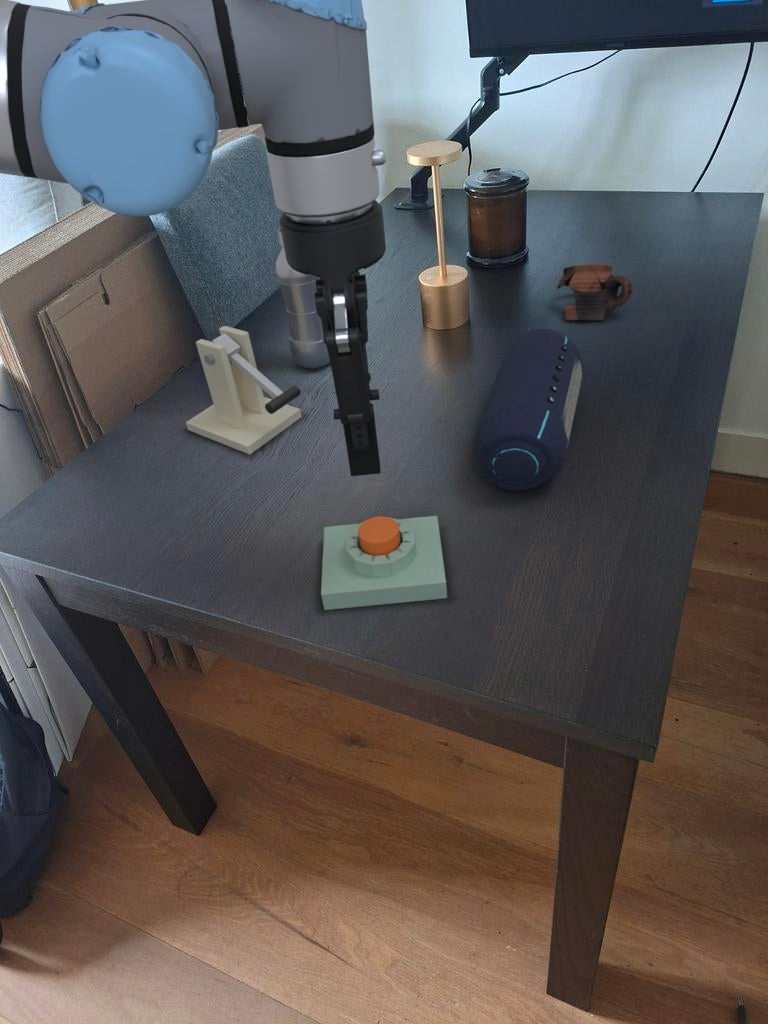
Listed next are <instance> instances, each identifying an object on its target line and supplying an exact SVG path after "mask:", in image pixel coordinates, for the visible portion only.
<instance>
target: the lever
mask: <svg viewBox="0 0 768 1024" xmlns="http://www.w3.org/2000/svg"><path fill="white" fill-rule="evenodd" d="M211 342H213V343H217V344H220V345H223V346H225V348H226V352H227V355H228V359H229V363H230V364H234V365H235V366H236V367H237V368H238V369H239V370H241V371H242V372H243V373H244V374H245V375H246V376H248V377H249V378H250V379H251V380H252V381H253V382H255V383H256V384H257V385H258V386H259V387H260V388H261V389H262V391H264V393H266V394H267V395H268V396H269V397H271V399H272V400H271V401H270V402H268V403H267V404H266V405H265V409H266V411H267V412H268V413H270V414H273V413H275V412H276V411H278V410H279V409H281V408H282V407H283V406H285V405H286V404H287V405H289V403H290V402H292V401H294V400H295V399H296V398H298V397H299V396H301V389H300V388H299V387H298V385H293V384H292V385H291V386H290V387H289V388H287V389H286V390H284V391H283V390H282V389H281V388H279V387H278V386H277V385H275V383H274V382H272V381H271V380H269V378H267V377H266V376H265V375H264V374H263V373H262V372H261V371H260V370H258V368H257V369H256V368H254V367H253V366H252V365H251V364H250V363H249V362H247V361H246V360H245V359H244V358H243V357H242V356H240V355H239V352H240V346H239V345H238V344H237V343H236V342H235V341H234V340H232V339H231V338H230V337H229V336H228V335H226V334H225V333H224V334H222V335H221V334H220V335H219V336H217V337H216V338H214V339H212V340H211Z"/></svg>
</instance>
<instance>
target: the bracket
mask: <svg viewBox="0 0 768 1024" xmlns="http://www.w3.org/2000/svg"><path fill="white" fill-rule="evenodd" d="M218 330H219V334H220V336H221V335H222V334H224V333H225V334H226V335H228V336H229V337H230V338H231V339H232V340H234V341H235V342H236V343H237V344H238V345H239V346H240V352H239V355H240V356H242V357H243V358H244V359H245V360H246V361H247V362H249V363H250V364H251V365H252V366H253V367H254V368H256V369H257V370H258V367H257V363H256V359H255V354H254V350H253V347H252V343H251V342H252V341H251V338H250V333H249V332H248V331H246V330H242V329H238V328H235V327H231V326H227V325H223V326H221V327H219V328H218ZM195 345H196V349H197V352H198V355H199V360H200V362H201V365H202V368H203V373H204V376H205V379H206V383H207V386H208V388H209V389H208V390H209V393H210V397H211V400H212V404H211V405H210V406H209V407H207V408H205V409H204V410H202V411H201V412H199V413H197V414H196V415H194V416H193V417H192V418H190V419H188V420H187V421H186V422H185V425H186V428H187V430H188V431H189V432H192V433H194V434H197V435H199V436H202V437H204V438H207V439H210V440H212V441H215V442H217V443H219V444H222V445H224V446H227V447H229V448H232V449H234V450H237V451H239V452H242V453H245V454H246V455H252V454H253V453H254V452H255V451H257V450H259V449H260V448H261V447H263V446H265V444H267V443H268V442H270V441H271V440H272V439H273V438H275V437H277V436H278V435H279V434H281V433H282V432H284V431H285V430H286V429H287V428H289V427H290V426H292V425H293V424H294V423H296V422H297V421H299V420H300V419H301V418H302V417H303V416H302V411H301V408H298V407H296V406H293V405H290V404H286V405H285V406H283V407H282V408H281V409H279V410H278V411H276V412H275V413H273V414H270V413H268V412H267V411H266V409H265V405H266V404H267V403H268V402H270V401H271V400H273V398H270V397H266V396H264V392H263V389H261V388H260V387H259V386H258V385H257V384H256V383H255V382H253V381H252V380H251V379H250V378H249V377H248V376H246V375H245V374H244V373H243V372H242V371H241V370H239V369H238V368H237V367H236V366H235V365H234V364H230V363H229V359H228V355H227V352H226V348H225V346H223V345H220V344H217V343H213V342H212V341H210V340H208V339H207V340H206V339H203V338H201V339H199V340H196V341H195Z"/></svg>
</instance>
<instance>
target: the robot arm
mask: <svg viewBox="0 0 768 1024" xmlns="http://www.w3.org/2000/svg"><path fill="white" fill-rule="evenodd" d="M363 7H364V6H363V1H362V0H134V1H126V2H118V3H116V2H115V3H108V4H105V3H103V2H98V3H92V4H90V5H88V6H83V7H81V8H79V9H74V10H63V9H59V8H53V7H49V6H40V5H39V6H38V5H32V4H27V3H21V2H20V1H15V0H0V174H2V175H3V174H4V175H10V176H18V177H24V178H32V179H39V180H45V181H50V182H55V183H61V184H62V183H63V184H68V185H70V187H71V188H72V189H74V191H76V192H77V193H78V194H80V195H81V196H83V197H84V198H85V199H86V200H88V202H91V203H93V204H94V205H97V206H99V207H100V208H103V209H104V210H107V211H110V212H112V213H115V214H119V215H123V216H129V217H149V216H156V215H160V214H163V213H166V212H168V211H170V210H172V209H174V208H176V207H178V206H180V205H181V204H182V203H184V202H185V201H186V200H187V199H188V198H190V197H191V196H192V195H193V194H194V192H196V190H197V189H198V188H199V186H200V185H201V183H202V182H203V180H204V178H205V176H206V173H207V171H208V169H209V166H210V165H211V162H212V159H213V158H212V157H213V153H214V149H215V147H216V146H217V145H218V140H219V139H218V138H219V131H225V130H230V129H237V128H238V129H242V128H248V127H250V126H253V125H254V126H255V125H261V126H262V130H263V134H264V142H265V152H266V159H267V164H268V169H269V176H270V181H271V187H272V192H273V198H274V203H275V204H274V205H275V207H276V208H277V209H278V210H279V211H280V212H282V214H281V216H280V218H279V226H280V227H279V228H281V233H282V238H283V244H284V249H285V255H286V260H287V263H288V264H289V266H290V267H291V268H292V269H294V270H295V271H297V272H299V273H302V274H306V275H309V274H310V275H314V276H317V277H319V278H320V279H316V289H317V292H315V294H314V295H315V304H316V311H317V314H318V316H319V317H320V318H321V321H322V328H323V334H324V336H323V337H324V343H325V344H326V347H327V350H328V354H329V358H330V362H329V364H330V368H331V374H332V378H333V384H334V389H335V390H334V391H335V395H336V400H337V401H336V402H337V406H338V408H333V420H335V421H337V420H340V423H341V424H342V426H343V427H342V428H343V432H344V440H345V446H346V452H347V459H348V466H349V472H350V477H359V476H367V475H368V476H369V475H378V474H379V475H380V474H381V459H380V452H379V450H380V449H379V444H378V443H379V442H378V435H377V426H376V418H375V410H374V403H373V402H372V403H371V401H379V400H380V390H379V388H377V389H371V387H370V382H371V380H372V377H371V373H370V372H369V364H368V362H369V361H368V355H367V354H368V353H367V343H368V341H369V329H368V322H369V321H368V309H369V304H368V302H369V301H368V283H367V276H366V273H362V274H361V273H360V270H366V269H368V268H371V267H372V266H374V265H375V264H377V263H378V262H379V261H380V260H381V259H383V256H384V255H385V253H386V250H387V245H386V235H385V233H386V232H385V223H384V212H383V206H382V205H381V203H379V202H378V201H377V200H376V199H378V197H379V196H380V194H381V192H380V191H381V190H380V189H381V188H380V179H379V170H378V168H377V167H378V166H383V165H385V164H386V162H387V155H386V153H385V150H383V149H377V150H374V149H375V147H376V140H375V123H374V110H373V100H372V99H373V98H372V97H373V96H372V87H371V75H370V63H369V51H368V49H369V48H368V38H367V30H368V22H367V21H366V19H365V15H364V8H363Z"/></svg>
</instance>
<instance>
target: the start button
mask: <svg viewBox="0 0 768 1024" xmlns="http://www.w3.org/2000/svg"><path fill="white" fill-rule="evenodd" d="M389 517H390V516H373V517H370V518H368V519H365V520H364V521H362V522H363V523H362V522H361V523H362V524H361V525H360V527H359V529H358V535H359V541H360V546H361V549H362V550H363V551H364V552H365V553H367V554H369V555H373V556H379V555H387V554H389V553H391V552H393V551H395V550H396V549H397V548H398V546H399V544H400V534H399V527H398V524H397V522H396V521H395V520H393V519H391V518H392V517H390V518H389Z"/></svg>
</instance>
